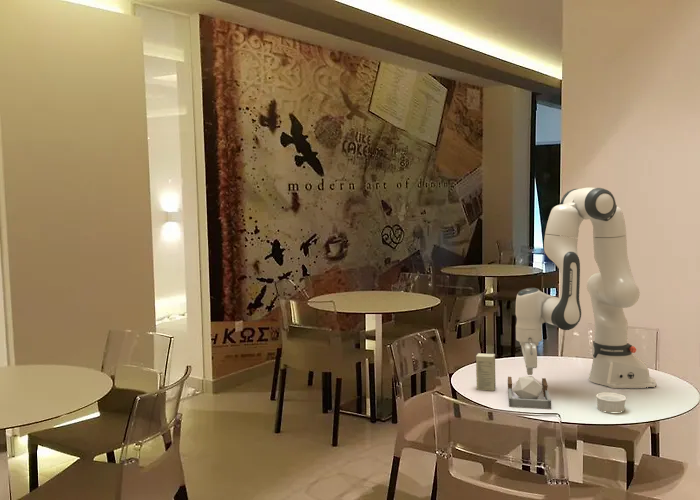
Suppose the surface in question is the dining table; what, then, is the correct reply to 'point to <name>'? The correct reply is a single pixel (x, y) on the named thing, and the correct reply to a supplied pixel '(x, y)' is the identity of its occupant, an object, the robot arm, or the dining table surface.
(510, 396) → the tray
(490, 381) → the skincare box
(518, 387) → the die
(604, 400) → the ramekin
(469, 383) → the dining table surface
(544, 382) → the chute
